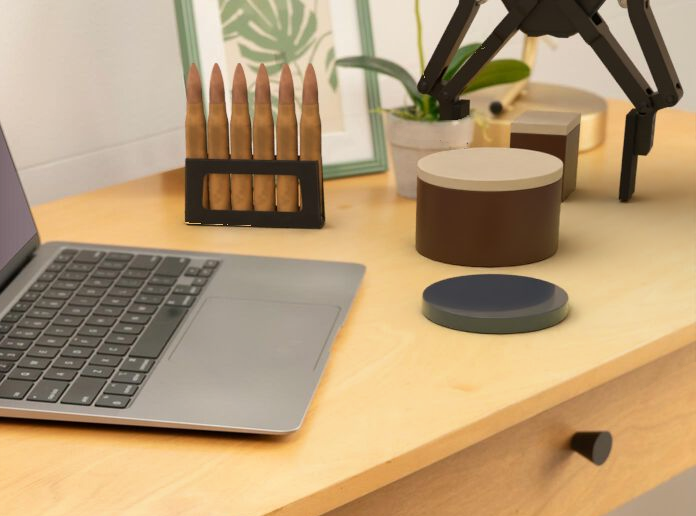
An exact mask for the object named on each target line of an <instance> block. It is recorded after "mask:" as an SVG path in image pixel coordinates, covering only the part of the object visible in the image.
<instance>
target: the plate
mask: <svg viewBox="0 0 696 516" xmlns="http://www.w3.org/2000/svg"><path fill="white" fill-rule="evenodd" d="M568 311H569V294H568V292H567V291H566V290H565V289H564V288H563V287H561V286H559V285H557V284H556V283H553V282H550V281H547V280H543V279H540V278H535V277H531V276H525V275H519V274H518V275H517V274H509V273H506V274H505V273H475V274H466V275H465V274H464V275H458V276H453V277H448V278H444V279H441V280H438V281H435V282H433V283H431V284H430V285H428V286H426V287H425V289H423V291H422V295H421V312H422V314H423V315H424V317H425V318H426V319H428V320H429V321H430V322H431V321H432V322H433V323H434V324H438V325H440V326H443V327H446V328H450V329H453V330H458V331H464V332H470V333H481V334H520V333H528V332H534V331H538V330H539V331H540V330H543V329H547V328H550V327H553V326H555V325H557V324H559V323H561V322H562V321H563V320H564V319H566V317H567V315H568Z"/></svg>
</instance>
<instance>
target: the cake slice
mask: <svg viewBox="0 0 696 516" xmlns="http://www.w3.org/2000/svg"><path fill="white" fill-rule="evenodd" d="M581 122H582V112H579V111H559V110H558V111H557V110H556V111H555V110H537V109H535V110H533V109H526V110H524V111H523V112H522V113H521V114H519V115H517V117H516V118H514V119H513V120H512V121H510V131H509V132H510V133H509V135H510V136H509V148H516V149H525V150H532V151H538V152H542V153H546V154H549V155H552V156H555V157H557V158H559V159H560V160H561V161H562V162H563V175H562V192H561V203H562V202H564V201H565V200H566V198H567V197H568V196H569V195H570V194H571V193H572V192H573V191H574V190H575V189H576V188H577V179H578V163H579V150H580V136H581Z"/></svg>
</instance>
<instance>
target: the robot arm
mask: <svg viewBox="0 0 696 516" xmlns="http://www.w3.org/2000/svg"><path fill="white" fill-rule="evenodd" d="M500 1H501V3H502V5H503V6H504V8H505V9H506V11H507V12H508V13H507V14H506V15H505V16H504V17H503V18H502V19H501V21H499V23H498V24H497V25H496V26H495V28H493V30H492V32H491V33H490V34H489V35H487V37H486V38H485V40H484V41H483V42H482V43H481V44H480V45H479V47H477V49H476V50H475V51H474V52H473V53H472V55H471V56H469V58H467V60H466V61H465V62H464V63H463V64H462V65H461V67H460V68H459V69H458V70H457V71H456V72H455V74H454V75H453V76H452V77H451V78H450V79H449V80H448V81H447V80H445V79H444V77H445V75H446V73H447V71H448V70H449V68H450V66H451V64H452V62H453V60H454V59H455V56H456V55H457V52H458V50H459V48H460V47H461V45H462V43H463V41H464V39H465V37H466V35H467V33H468V32H469V30H470V28H471V26H472V24H473V22H474V20H475V18H476V16H477V14H478V12H479V10H480V8H481V5H483V4H485V3H487V2H489V0H458V4H457V5H456V8H455V10H454V12H453V14H452V16H451V18H450V20H449V22H448V23H447V26H446V28H445V29H444V31H443V33H442V36H441V37H440V39H439V41H438V43H437V45H436V47H435V49H434V51H433V53H432V55H431V56H430V59H429V61H427V64H426V66H425V68H424V70H423V72H424V75H423V73H422V74H421V76H420V78H419V80H418V82H417V85H416V89H417V92H418V93H419V94H421V95H422V96H423V95H427V96H430V97H431V98H434V99H435V100H436V101H437V102H438V105H439V112H438V113H439V114H438V116H439V117H438V121H439V120H458V119H462V118H464V117H466V116H467V115H469V116H470V113H471V99H465V98H461V99H460V97H461V96H462V95H463V93H464V92H465V90H467V88H468V87H469V86H470V85H471V84H472V83H473V82H474V80H475V79H477V77H478V76H479V75H480V74H481V73H482V72H483V70H484V69H485V68H486V67H487V66H488V65H489V64H490V63H491V61H492V60H493V59H494V58H495V57H496V56H497V55H498V54H499V53H500V51H501V50H503V48H504V47H505V46H506V45H507V44H508V42H509V41H510V40H511V39H512V38H513V37H514V36H515V35H516V34H517V33H518V32H519V31H520V32H521V33H523V34H524V35H527V36H526V37H527V38H539V37H543V36H551V37H553V38H557V39H569V38H570V37H573V36H576V35H577V34H579V36H580V37H581V38H582V41H584V43H585V44H586V45H588V46H589V47H590V48H591V50H592V51H593V52H594V53H595V55H596V57H598V59H599V60H600V62H601V63H602V64H603V66H604V68H606V70H607V71H608V73H609V74H610V75H611V77H612V79H614V81H615V82H616V83H617V85H618V86H619V87H620V89H621V90H622V92H623V93H624V94H625V96H626V97H627V99H628V100H629V102H630V103H631V104H632V105H633V108H631V109H630V110H629V111H628V112H627V113H626V115H625V121H624V132H623V144H622V154H621V164H620V165H621V166H620V178H619V187H618V198H617V199H618V201H619V200H620V201H629V200H630V199H631V197H632V196H633V195H634V194H635V191H636V182H637V171H638V162H639V161H638V160H639V156H640V157H641V156H642V157H647V156H648V155H649V154H650V153H651V150H652V149H653V146H654V140H655V130H656V121H657V113H658V111H660V110H663V109H667V108H673V107H675V106H677V104H678V103H679V102H680V101H681V99H682V98H683V97H684V93H685V92H684V88H683V86H682V83H681V81H680V78H679V76H678V73H677V71H676V67H675V66H674V63H673V60H672V58H671V56H670V55H671V54H670V53H669V50H668V48H667V46H666V43H665V40H664V37H663V35H662V32H661V30H660V27H659V25H658V22H657V20H656V16H655V15H654V12H653V10H652V6H651V1H650V0H617V3H618V6H619V7H620V8H621V9H627V15H628V18H629V22H630V24H631V27H632V29H633V32H634V34H635V37H636V40H637V42H638V44H639V47H640V50H641V52H642V55H643V58H644V59H645V63H646V65H647V67H648V70H649V73H650V75H651V78H652V79H653V82H654V85H655V87H656V91H654V89H653V88H652V87H651V85H650V84H649V82H648V81H647V80H646V79H645V77H644V76H643V74H642V73H641V72H640V70H639V69H638V68H637V66H636V65H635V63H634V62H633V61H632V60H631V58H630V57H629V55H628V54H627V52H626V51H625V49H624V48H623V47H622V45H621V44H620V43H619V41H618V40H617V38H616V37H615V36H614V35H613V33H612V32H611V30H610V27H609V25H608V23H607V22H606V20H605V19H604V18H603V16H602V15H601V13H600V12H599V10H600V9H601V7H602V6H603V5H604V4H605V2H607V0H500ZM481 45H482V46H481ZM484 47H485V48H484ZM481 48H484V49H481ZM475 52H476V53H475ZM424 76H425V78H424Z"/></svg>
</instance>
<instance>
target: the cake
mask: <svg viewBox="0 0 696 516" xmlns="http://www.w3.org/2000/svg"><path fill="white" fill-rule="evenodd" d="M416 168H417V169H416V197H415V198H416V199H415V200H416V201H415V203H416V204H415V210H416V211H415V241H414V243H415V244H414V246H415V250H416V251H417V252H418V253H419V254H421V255H422V256H424V257H425V258H428V259H431V260H434V261H437V262H441V263H446V264H452V265H457V266H466V267H480V268H481V267H484V268H485V267H487V268H489V267H490V268H494V267H513V266H522V265H527V264H531V263H536V262H539V261H543V260H545V259H548V258H549V257H552V256H553V255H554V254H556V252H558V248H559V236H560V220H561V219H560V218H561V206H562V205H561V204H562V202H561V192H562V175H563V162H562V161H561V160H560V159H559V158H557V157H555V156H552V155H549V154H546V153H542V152H538V151H532V150H525V149H516V148H510V147H496V146H495V147H492V146H491V147H490V146H489V147H486V146H485V147H468V148H464V149H454V150H450V149H448V150H442V151H438V152H433V153H431V154H428V155H426V156H423V157H421V159H419V160H418V161H417V165H416Z"/></svg>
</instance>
